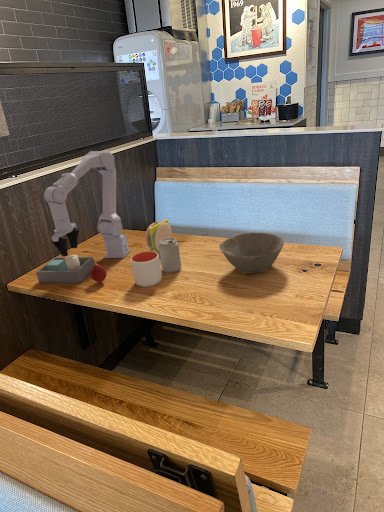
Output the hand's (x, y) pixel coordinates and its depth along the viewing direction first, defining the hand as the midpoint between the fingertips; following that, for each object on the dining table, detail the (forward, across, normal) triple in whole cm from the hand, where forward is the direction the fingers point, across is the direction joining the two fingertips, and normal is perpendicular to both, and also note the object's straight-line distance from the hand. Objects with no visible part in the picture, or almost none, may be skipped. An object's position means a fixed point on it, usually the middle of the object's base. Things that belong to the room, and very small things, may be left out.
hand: (69, 251), depth 152 cm
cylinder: (+9, 0, 0) cm, 9 cm away
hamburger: (+11, -25, +28) cm, 39 cm away
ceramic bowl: (+11, -5, +70) cm, 70 cm away
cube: (+9, 0, -8) cm, 12 cm away
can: (+10, -5, +38) cm, 40 cm away
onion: (+10, +6, +14) cm, 18 cm away
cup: (+10, +5, +32) cm, 35 cm away
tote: (+10, 0, -4) cm, 11 cm away
